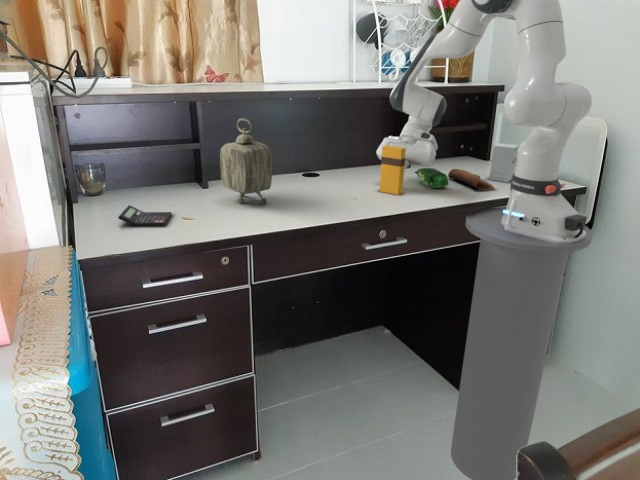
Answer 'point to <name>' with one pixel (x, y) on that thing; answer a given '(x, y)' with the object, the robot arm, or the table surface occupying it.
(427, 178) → the snack package
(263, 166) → the tabletop clock
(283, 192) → the table surface
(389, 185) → the block
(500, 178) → the white packaging box
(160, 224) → the calculator
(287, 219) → the table surface
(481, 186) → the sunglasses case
